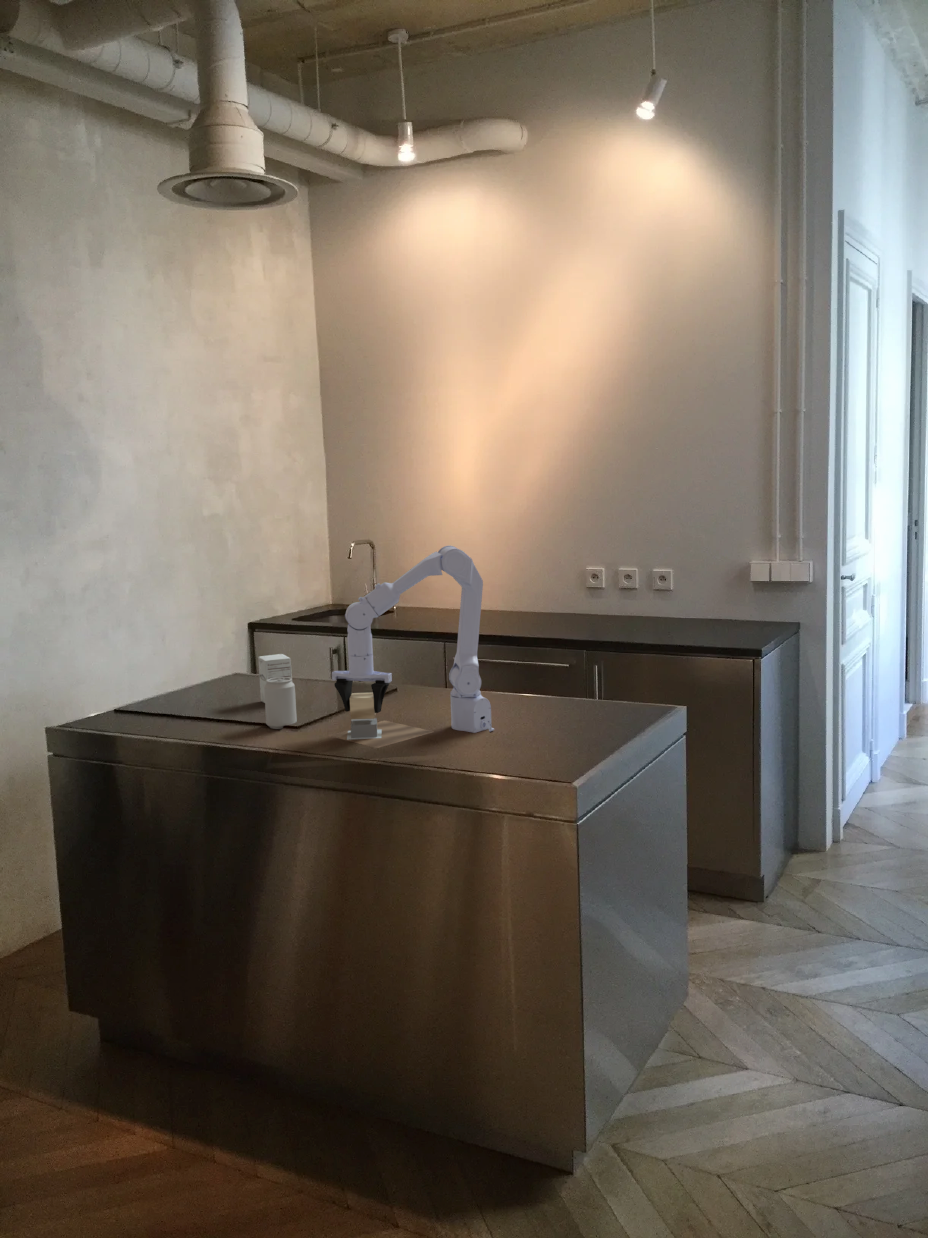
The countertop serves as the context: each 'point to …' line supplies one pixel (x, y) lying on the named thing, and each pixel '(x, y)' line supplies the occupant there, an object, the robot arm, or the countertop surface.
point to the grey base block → (363, 728)
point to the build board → (385, 734)
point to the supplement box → (273, 669)
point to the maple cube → (362, 706)
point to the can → (280, 702)
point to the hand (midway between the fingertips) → (363, 711)
